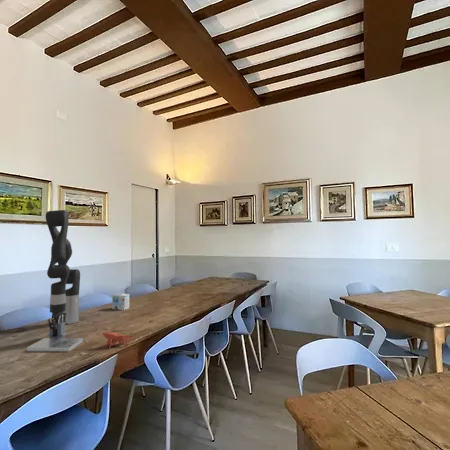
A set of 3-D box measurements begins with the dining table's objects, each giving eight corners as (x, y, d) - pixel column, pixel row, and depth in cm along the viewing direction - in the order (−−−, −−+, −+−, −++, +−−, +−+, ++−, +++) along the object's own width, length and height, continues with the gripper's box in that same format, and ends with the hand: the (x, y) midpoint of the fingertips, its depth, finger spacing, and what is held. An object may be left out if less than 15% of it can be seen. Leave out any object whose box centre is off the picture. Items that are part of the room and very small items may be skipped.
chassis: (44, 341, 161) (44, 337, 161) (82, 341, 161) (82, 338, 161) (26, 351, 147) (26, 347, 147) (69, 351, 147) (69, 347, 147)
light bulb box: (111, 309, 234) (112, 294, 234) (117, 307, 241) (117, 293, 241) (124, 310, 231) (124, 295, 232) (129, 308, 238) (129, 293, 238)
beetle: (101, 351, 148) (101, 324, 149) (104, 342, 160) (104, 317, 161) (133, 348, 152) (134, 322, 153) (134, 340, 164) (135, 316, 165)
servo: (51, 337, 168) (51, 322, 169) (67, 337, 168) (67, 322, 168) (47, 339, 164) (47, 324, 165) (63, 339, 164) (63, 324, 164)
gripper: (58, 299, 174) (57, 331, 173) (43, 305, 160) (42, 339, 159) (71, 299, 174) (71, 331, 173) (57, 305, 160) (57, 339, 159)
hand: (57, 334), depth 166 cm, fingers closed on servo, 4 cm apart
